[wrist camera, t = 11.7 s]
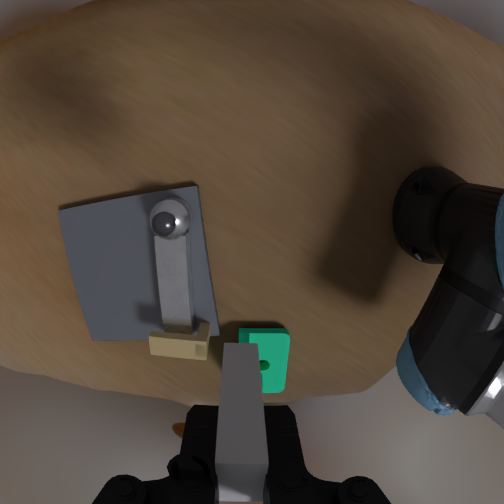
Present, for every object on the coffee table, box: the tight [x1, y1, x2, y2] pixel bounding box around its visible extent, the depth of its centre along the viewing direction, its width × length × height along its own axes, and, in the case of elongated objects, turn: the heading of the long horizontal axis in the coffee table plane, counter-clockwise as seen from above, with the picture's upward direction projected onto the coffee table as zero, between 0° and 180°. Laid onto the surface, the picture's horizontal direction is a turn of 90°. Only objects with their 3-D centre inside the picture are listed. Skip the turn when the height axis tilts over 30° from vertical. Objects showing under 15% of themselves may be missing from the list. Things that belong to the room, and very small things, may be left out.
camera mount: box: [239, 328, 290, 395], centre depth 43 cm, size 12×8×10 cm, turn 178°
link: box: [150, 197, 196, 335], centre depth 38 cm, size 20×5×6 cm, turn 179°
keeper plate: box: [58, 185, 220, 360], centre depth 39 cm, size 22×22×8 cm
